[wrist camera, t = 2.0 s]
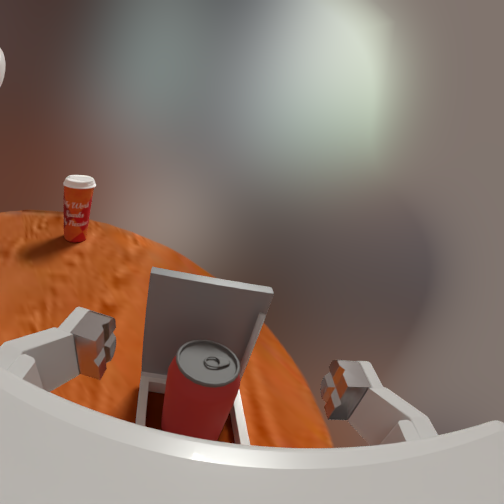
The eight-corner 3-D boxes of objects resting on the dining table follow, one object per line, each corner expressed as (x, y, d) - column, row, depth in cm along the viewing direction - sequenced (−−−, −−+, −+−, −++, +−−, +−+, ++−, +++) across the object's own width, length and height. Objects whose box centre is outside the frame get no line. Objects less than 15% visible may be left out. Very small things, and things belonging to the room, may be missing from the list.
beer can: (225, 451, 26) (256, 388, 22) (164, 454, 24) (174, 390, 19) (211, 406, 32) (235, 336, 27) (157, 406, 29) (166, 332, 25)
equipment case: (133, 475, 20) (126, 380, 14) (141, 376, 33) (152, 266, 27) (251, 481, 23) (317, 395, 17) (233, 387, 36) (271, 287, 30)
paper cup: (56, 242, 54) (59, 180, 49) (64, 229, 60) (68, 172, 55) (88, 246, 57) (93, 184, 52) (93, 232, 64) (99, 176, 59)
